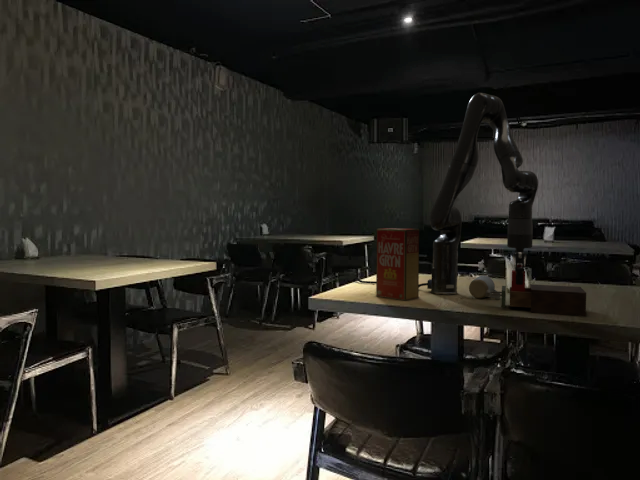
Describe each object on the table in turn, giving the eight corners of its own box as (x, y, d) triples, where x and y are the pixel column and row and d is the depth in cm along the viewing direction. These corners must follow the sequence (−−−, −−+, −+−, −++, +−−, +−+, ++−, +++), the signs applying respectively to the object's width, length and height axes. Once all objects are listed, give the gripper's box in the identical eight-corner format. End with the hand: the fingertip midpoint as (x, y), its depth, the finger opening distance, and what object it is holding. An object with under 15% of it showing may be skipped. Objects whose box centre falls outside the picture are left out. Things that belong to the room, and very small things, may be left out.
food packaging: (374, 296, 180) (375, 228, 179) (389, 293, 187) (390, 227, 186) (405, 301, 171) (406, 229, 170) (419, 297, 178) (420, 228, 176)
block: (511, 302, 158) (511, 271, 158) (511, 300, 162) (511, 270, 162) (524, 303, 157) (525, 272, 157) (524, 301, 161) (525, 270, 160)
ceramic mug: (467, 297, 178) (468, 276, 177) (473, 294, 184) (474, 274, 184) (497, 301, 172) (498, 279, 171) (503, 298, 179) (504, 277, 178)
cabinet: (530, 312, 153) (531, 289, 152) (529, 305, 164) (529, 284, 164) (585, 316, 147) (586, 292, 147) (579, 308, 159) (580, 286, 158)
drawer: (484, 305, 158) (485, 289, 158) (486, 300, 169) (486, 284, 168) (549, 310, 151) (550, 293, 151) (546, 304, 162) (547, 288, 161)
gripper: (507, 232, 166) (506, 279, 167) (507, 233, 153) (506, 285, 154) (531, 232, 164) (530, 280, 165) (533, 233, 150) (532, 286, 151)
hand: (519, 282), depth 159 cm, fingers open, 8 cm apart
